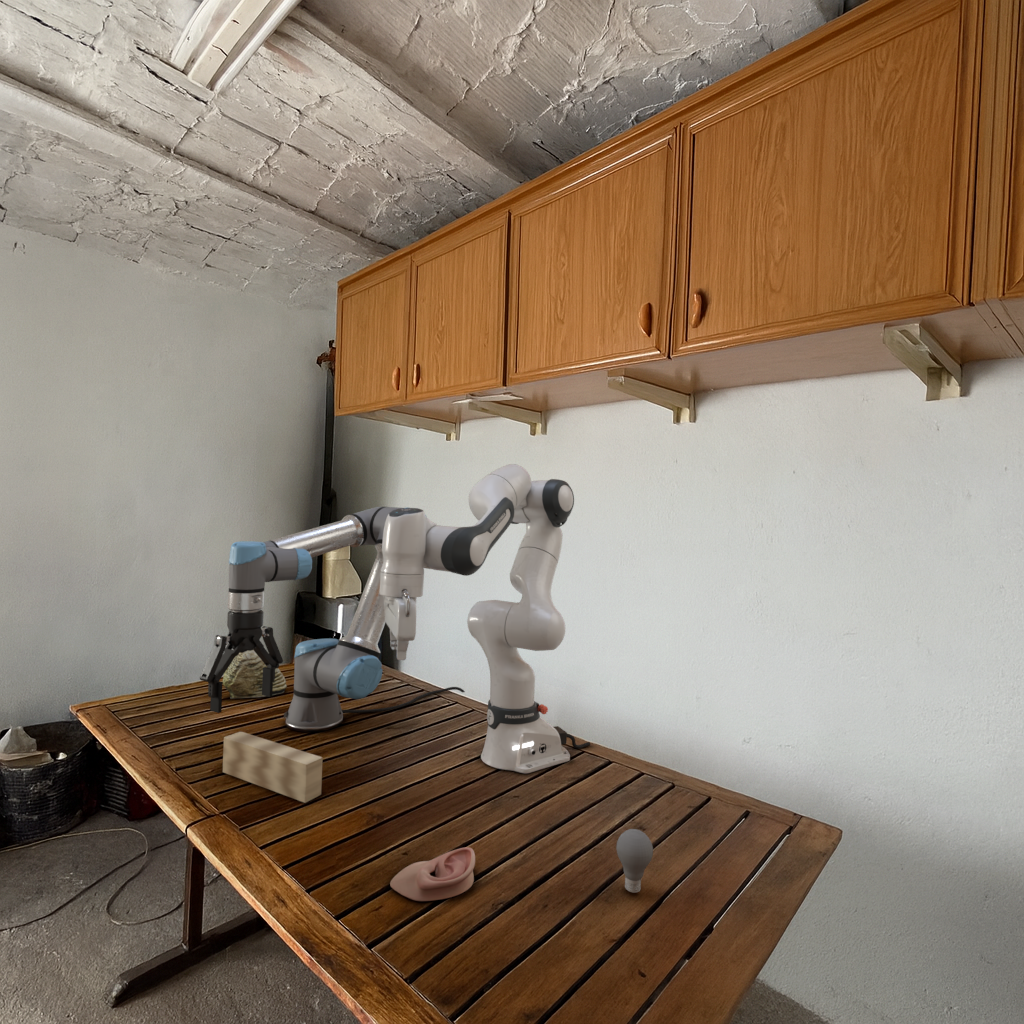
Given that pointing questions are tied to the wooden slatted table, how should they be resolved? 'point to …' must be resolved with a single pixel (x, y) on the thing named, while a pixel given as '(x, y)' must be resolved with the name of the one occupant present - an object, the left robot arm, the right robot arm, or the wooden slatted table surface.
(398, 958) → the wooden slatted table surface
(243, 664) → the fossil
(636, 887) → the light bulb
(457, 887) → the anatomical model
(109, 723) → the wooden slatted table surface
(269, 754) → the ash beam
